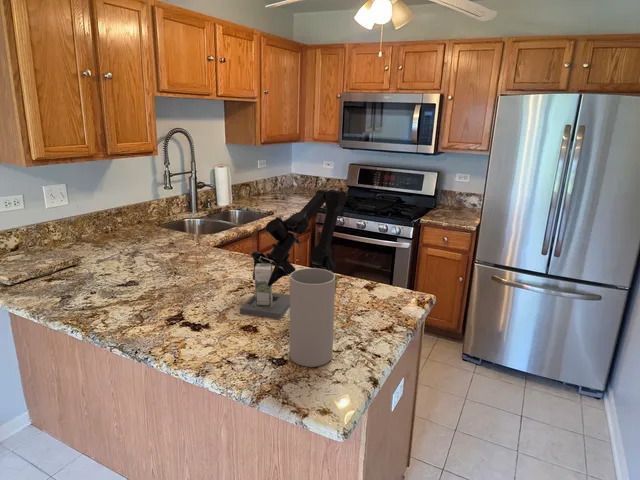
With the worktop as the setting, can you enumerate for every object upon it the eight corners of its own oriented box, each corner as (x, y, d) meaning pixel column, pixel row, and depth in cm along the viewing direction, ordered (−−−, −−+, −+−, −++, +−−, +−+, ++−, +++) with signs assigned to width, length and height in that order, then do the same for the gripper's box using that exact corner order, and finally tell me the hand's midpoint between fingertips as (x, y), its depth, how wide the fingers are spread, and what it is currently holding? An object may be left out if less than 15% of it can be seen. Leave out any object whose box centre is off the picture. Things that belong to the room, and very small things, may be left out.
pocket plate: (294, 300, 161) (294, 295, 161) (280, 319, 146) (280, 313, 146) (257, 295, 165) (257, 290, 164) (240, 313, 150) (239, 308, 149)
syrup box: (272, 299, 159) (272, 262, 155) (271, 306, 154) (270, 268, 149) (257, 299, 159) (256, 262, 155) (255, 306, 154) (254, 268, 149)
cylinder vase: (282, 362, 121) (282, 280, 114) (299, 341, 132) (300, 265, 125) (323, 372, 117) (326, 287, 110) (338, 350, 128) (341, 271, 121)
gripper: (311, 263, 158) (290, 300, 153) (277, 252, 169) (256, 285, 165) (296, 248, 150) (274, 286, 145) (261, 237, 161) (239, 272, 157)
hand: (260, 282), depth 153 cm, fingers closed on syrup box, 8 cm apart
